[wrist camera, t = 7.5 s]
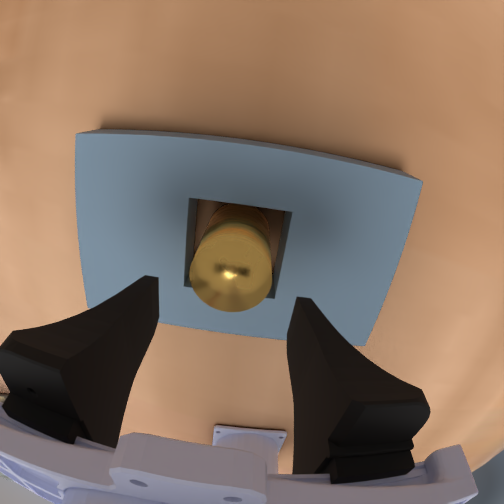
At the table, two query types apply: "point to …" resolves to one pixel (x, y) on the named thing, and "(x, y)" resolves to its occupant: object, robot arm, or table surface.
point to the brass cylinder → (233, 259)
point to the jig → (246, 193)
